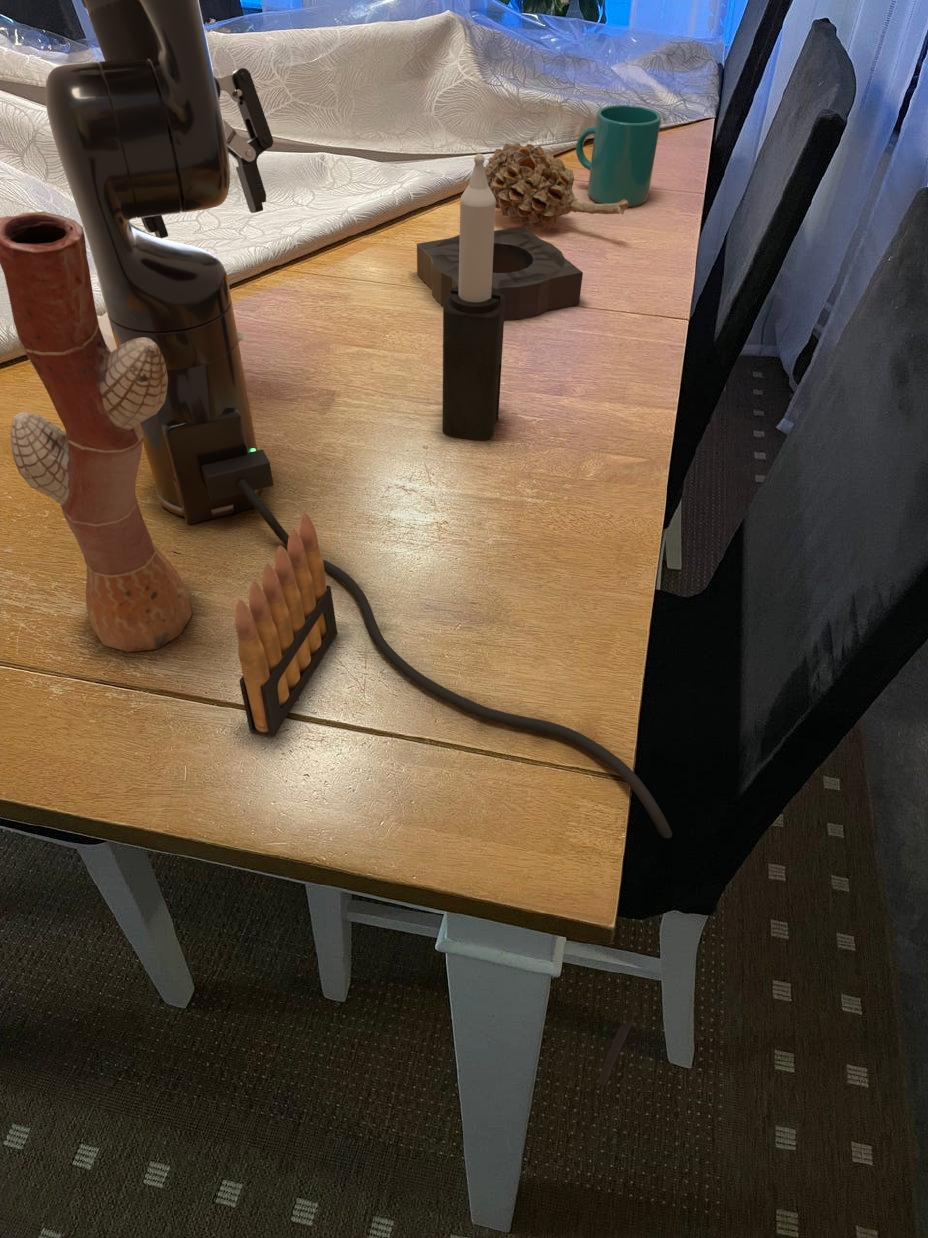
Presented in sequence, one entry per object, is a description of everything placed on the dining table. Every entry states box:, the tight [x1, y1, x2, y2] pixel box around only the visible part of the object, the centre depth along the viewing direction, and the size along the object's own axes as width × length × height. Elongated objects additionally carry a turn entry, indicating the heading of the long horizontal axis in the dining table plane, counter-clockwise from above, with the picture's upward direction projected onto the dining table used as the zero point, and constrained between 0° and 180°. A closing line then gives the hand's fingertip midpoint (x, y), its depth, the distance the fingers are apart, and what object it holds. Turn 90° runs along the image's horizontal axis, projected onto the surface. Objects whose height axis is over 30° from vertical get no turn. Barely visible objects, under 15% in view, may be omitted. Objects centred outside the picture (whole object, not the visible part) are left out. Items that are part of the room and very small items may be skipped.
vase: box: [0, 211, 193, 653], centre depth 56 cm, size 11×7×30 cm
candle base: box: [416, 225, 584, 321], centre depth 107 cm, size 16×16×4 cm
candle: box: [441, 153, 505, 441], centre depth 78 cm, size 5×5×25 cm
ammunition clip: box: [234, 512, 338, 738], centre depth 59 cm, size 11×2×12 cm, turn 162°
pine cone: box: [484, 142, 629, 230], centre depth 119 cm, size 22×10×10 cm, turn 65°
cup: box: [575, 104, 662, 208], centre depth 128 cm, size 9×12×11 cm
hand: (211, 224), depth 75 cm, fingers open, 8 cm apart
